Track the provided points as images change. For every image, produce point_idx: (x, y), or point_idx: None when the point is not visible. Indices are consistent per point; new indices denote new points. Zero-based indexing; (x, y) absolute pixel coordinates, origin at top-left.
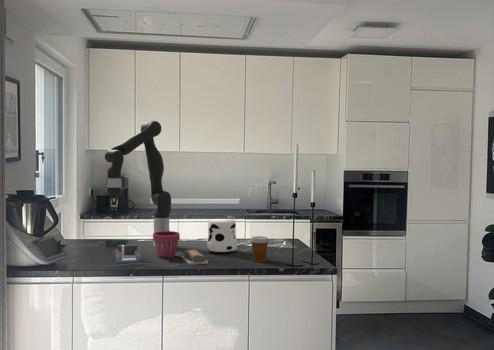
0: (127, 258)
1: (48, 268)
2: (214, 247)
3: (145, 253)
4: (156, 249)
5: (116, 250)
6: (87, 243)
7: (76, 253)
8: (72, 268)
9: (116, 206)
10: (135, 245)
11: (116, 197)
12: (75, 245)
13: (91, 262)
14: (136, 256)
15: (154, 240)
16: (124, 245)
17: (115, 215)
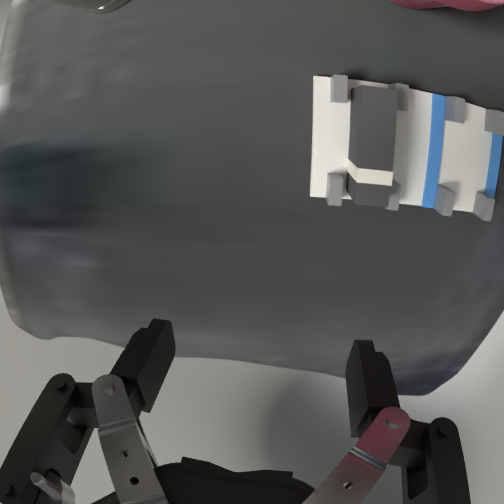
0: (449, 158)
1: (426, 388)
2: None
3: (300, 40)
4: (433, 6)
5: (340, 201)
6: (50, 289)
7: (224, 339)
8: (463, 341)
9: (364, 453)
10: (393, 101)
11: (22, 498)
12: (83, 325)
13: (418, 296)
14: (502, 133)
15: (475, 10)
16: (376, 167)
17: (372, 355)
